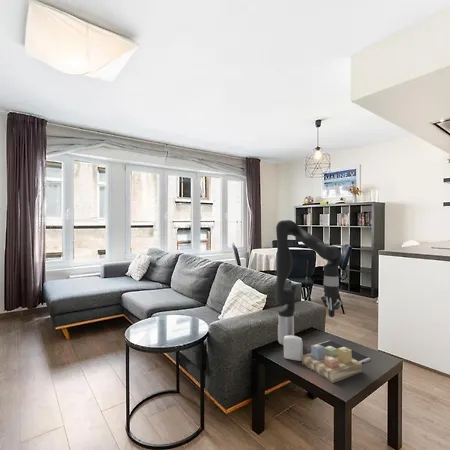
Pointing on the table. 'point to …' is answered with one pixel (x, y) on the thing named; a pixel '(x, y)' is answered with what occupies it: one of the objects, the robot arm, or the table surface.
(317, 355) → the button
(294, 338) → the photo printer
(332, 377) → the board
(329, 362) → the button
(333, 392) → the table surface
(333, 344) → the smartphone
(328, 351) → the button
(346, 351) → the button
